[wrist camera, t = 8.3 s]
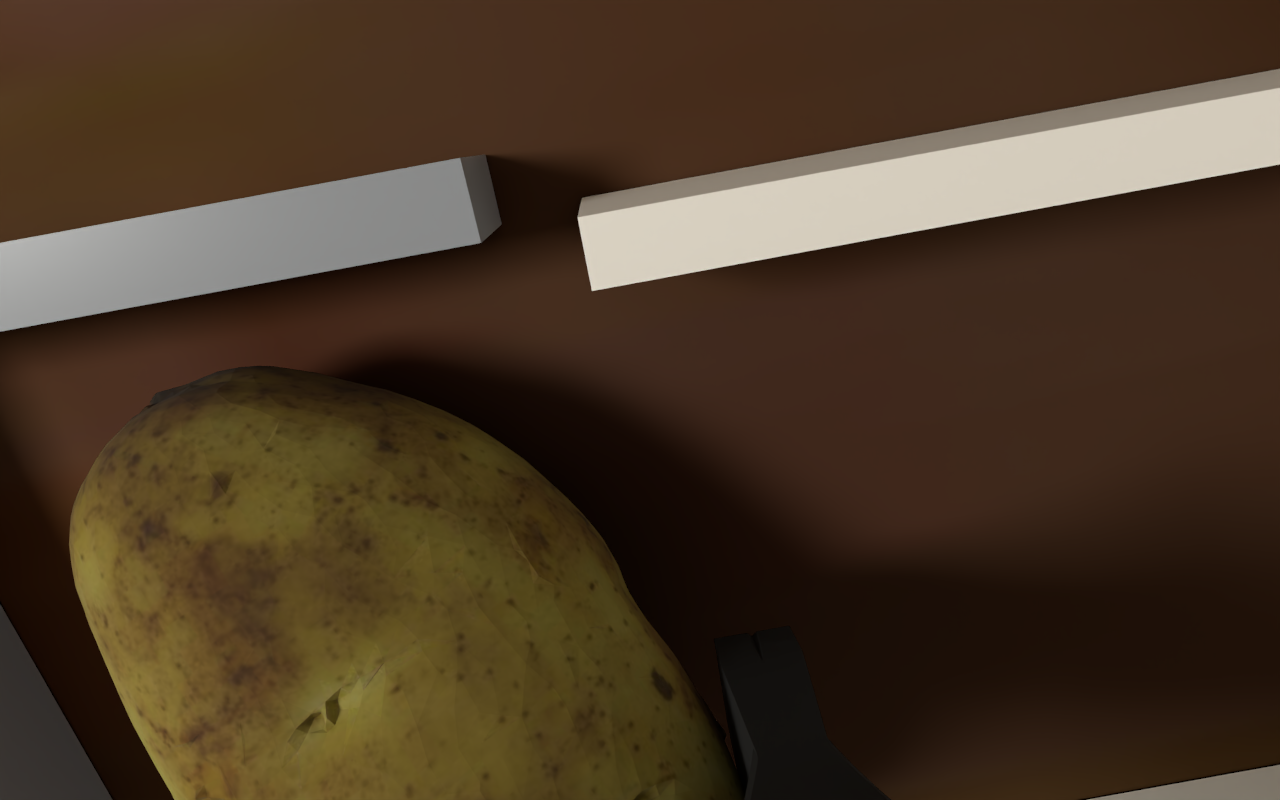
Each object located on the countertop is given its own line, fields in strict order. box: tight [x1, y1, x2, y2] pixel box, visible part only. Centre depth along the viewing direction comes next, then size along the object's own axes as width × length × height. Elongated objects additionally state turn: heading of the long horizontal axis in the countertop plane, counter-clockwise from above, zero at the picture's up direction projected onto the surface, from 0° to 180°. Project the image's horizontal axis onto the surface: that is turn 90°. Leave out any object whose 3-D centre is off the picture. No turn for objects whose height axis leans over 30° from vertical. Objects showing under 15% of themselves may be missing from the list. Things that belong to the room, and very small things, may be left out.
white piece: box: [577, 69, 1280, 800], centre depth 14 cm, size 18×22×4 cm
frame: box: [0, 155, 502, 800], centre depth 15 cm, size 20×13×2 cm, turn 10°
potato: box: [69, 366, 745, 800], centre depth 12 cm, size 8×13×8 cm, turn 20°
